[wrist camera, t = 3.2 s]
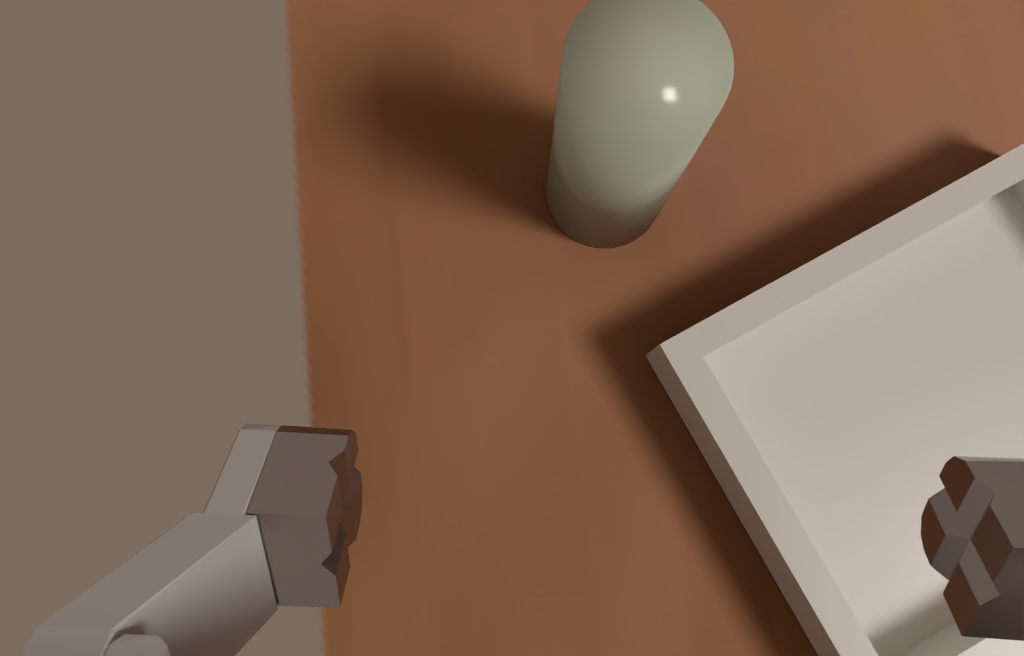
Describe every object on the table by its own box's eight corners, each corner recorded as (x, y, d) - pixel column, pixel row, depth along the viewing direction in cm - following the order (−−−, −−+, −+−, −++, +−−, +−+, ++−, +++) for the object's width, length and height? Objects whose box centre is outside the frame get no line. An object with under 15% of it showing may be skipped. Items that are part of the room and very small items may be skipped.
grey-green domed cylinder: (582, 268, 36) (616, 175, 24) (525, 169, 36) (531, 31, 25) (683, 214, 36) (766, 96, 24) (625, 117, 37) (678, -45, 25)
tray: (849, 709, 33) (888, 739, 30) (645, 355, 35) (659, 344, 32) (1222, 486, 34) (1302, 489, 31) (1004, 157, 36) (1055, 125, 33)
